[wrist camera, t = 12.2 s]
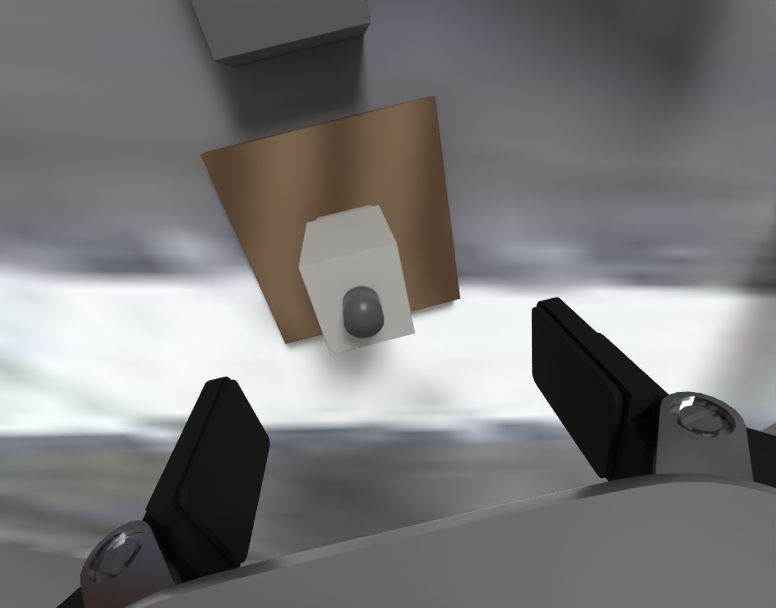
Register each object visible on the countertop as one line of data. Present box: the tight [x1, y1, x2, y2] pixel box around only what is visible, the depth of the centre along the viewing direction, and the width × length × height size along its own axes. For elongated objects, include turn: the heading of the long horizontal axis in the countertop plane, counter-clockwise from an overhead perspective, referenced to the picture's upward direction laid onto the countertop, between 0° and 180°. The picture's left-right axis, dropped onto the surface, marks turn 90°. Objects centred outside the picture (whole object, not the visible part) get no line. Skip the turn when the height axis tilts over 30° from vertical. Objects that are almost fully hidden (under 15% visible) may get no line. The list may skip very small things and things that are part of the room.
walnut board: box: [201, 96, 460, 344], centre depth 23 cm, size 13×13×1 cm
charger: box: [299, 205, 415, 355], centre depth 19 cm, size 4×4×10 cm
